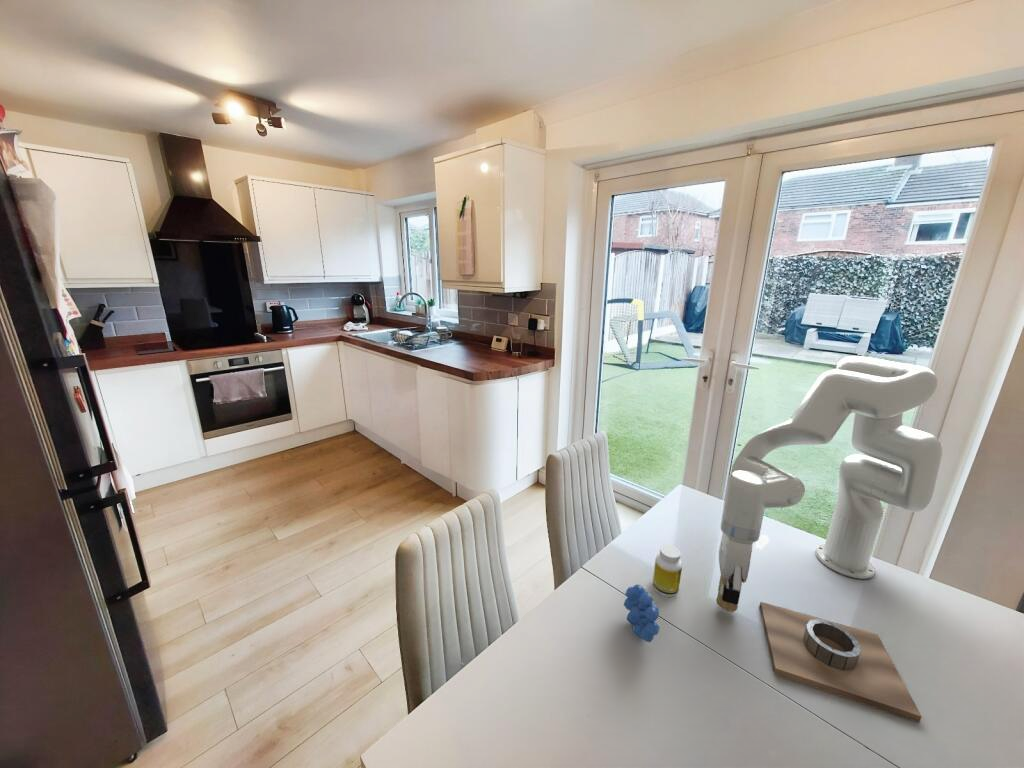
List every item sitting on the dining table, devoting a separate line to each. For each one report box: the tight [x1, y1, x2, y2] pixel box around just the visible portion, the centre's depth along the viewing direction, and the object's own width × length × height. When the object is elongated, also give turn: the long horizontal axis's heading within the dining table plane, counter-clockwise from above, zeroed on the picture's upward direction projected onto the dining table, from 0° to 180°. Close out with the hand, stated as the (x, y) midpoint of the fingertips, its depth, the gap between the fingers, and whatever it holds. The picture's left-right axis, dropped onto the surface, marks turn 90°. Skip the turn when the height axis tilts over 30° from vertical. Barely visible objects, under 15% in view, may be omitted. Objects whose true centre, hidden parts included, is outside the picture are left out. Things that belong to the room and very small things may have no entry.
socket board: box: [758, 601, 922, 723], centre depth 82 cm, size 18×22×2 cm
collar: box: [803, 618, 861, 671], centre depth 81 cm, size 9×9×4 cm
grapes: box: [623, 583, 660, 643], centre depth 85 cm, size 12×7×12 cm, turn 12°
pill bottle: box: [652, 544, 683, 598], centre depth 98 cm, size 6×6×11 cm
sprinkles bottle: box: [716, 574, 743, 613], centre depth 91 cm, size 5×5×13 cm
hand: (728, 593), depth 92 cm, fingers closed on sprinkles bottle, 4 cm apart
